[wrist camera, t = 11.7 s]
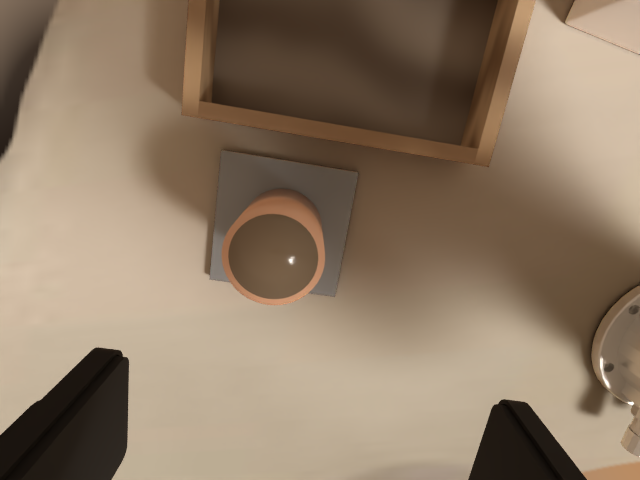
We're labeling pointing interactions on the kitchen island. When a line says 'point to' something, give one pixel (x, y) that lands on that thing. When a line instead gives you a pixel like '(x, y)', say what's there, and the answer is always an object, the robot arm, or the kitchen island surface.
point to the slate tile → (310, 180)
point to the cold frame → (359, 70)
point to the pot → (275, 248)
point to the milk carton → (608, 21)
